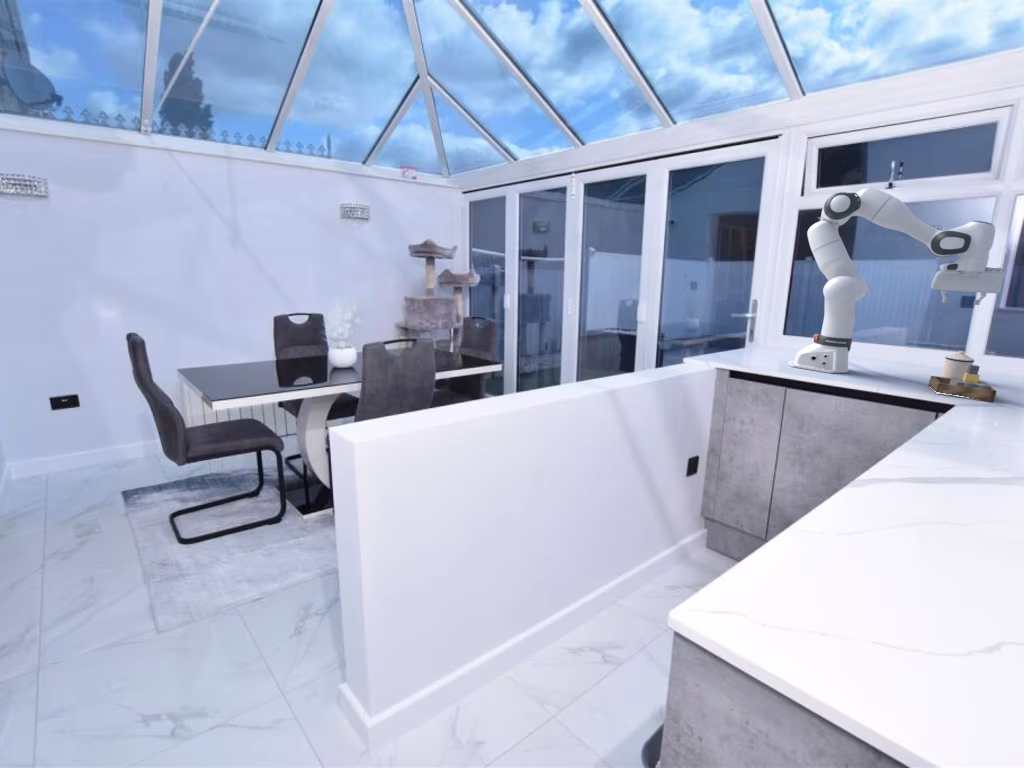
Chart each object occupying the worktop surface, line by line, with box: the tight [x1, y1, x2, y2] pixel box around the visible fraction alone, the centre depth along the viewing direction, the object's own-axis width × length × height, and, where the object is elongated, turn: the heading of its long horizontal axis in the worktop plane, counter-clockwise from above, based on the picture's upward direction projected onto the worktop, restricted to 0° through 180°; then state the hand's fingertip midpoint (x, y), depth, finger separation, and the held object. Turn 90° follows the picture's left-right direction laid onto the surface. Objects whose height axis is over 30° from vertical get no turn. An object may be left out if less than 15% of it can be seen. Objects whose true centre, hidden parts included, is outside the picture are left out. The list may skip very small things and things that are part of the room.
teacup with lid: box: [940, 350, 975, 378], centre depth 210 cm, size 12×9×12 cm
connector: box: [962, 364, 981, 383], centre depth 185 cm, size 4×4×10 cm
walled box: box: [928, 375, 998, 403], centre depth 187 cm, size 16×14×5 cm
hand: (960, 303), depth 196 cm, fingers open, 8 cm apart
